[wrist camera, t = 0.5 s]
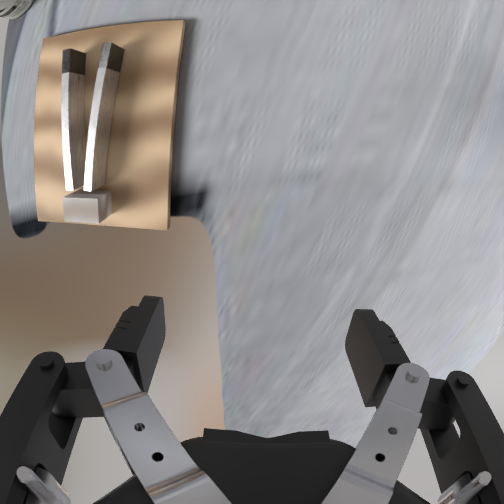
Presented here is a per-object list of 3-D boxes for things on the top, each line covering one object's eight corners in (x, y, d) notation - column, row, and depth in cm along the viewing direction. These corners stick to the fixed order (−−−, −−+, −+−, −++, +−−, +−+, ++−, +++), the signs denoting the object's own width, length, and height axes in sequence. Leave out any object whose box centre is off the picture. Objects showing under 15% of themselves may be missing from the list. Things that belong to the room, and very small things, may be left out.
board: (48, 40, 29) (26, 34, 24) (185, 23, 30) (176, 9, 25) (43, 217, 39) (22, 230, 34) (170, 226, 40) (159, 241, 35)
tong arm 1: (88, 183, 36) (73, 190, 32) (81, 183, 36) (66, 190, 32) (86, 53, 29) (70, 48, 26) (78, 55, 29) (62, 50, 26)
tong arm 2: (105, 184, 36) (91, 191, 32) (98, 183, 36) (83, 190, 32) (124, 49, 30) (112, 42, 26) (116, 49, 29) (103, 42, 26)
